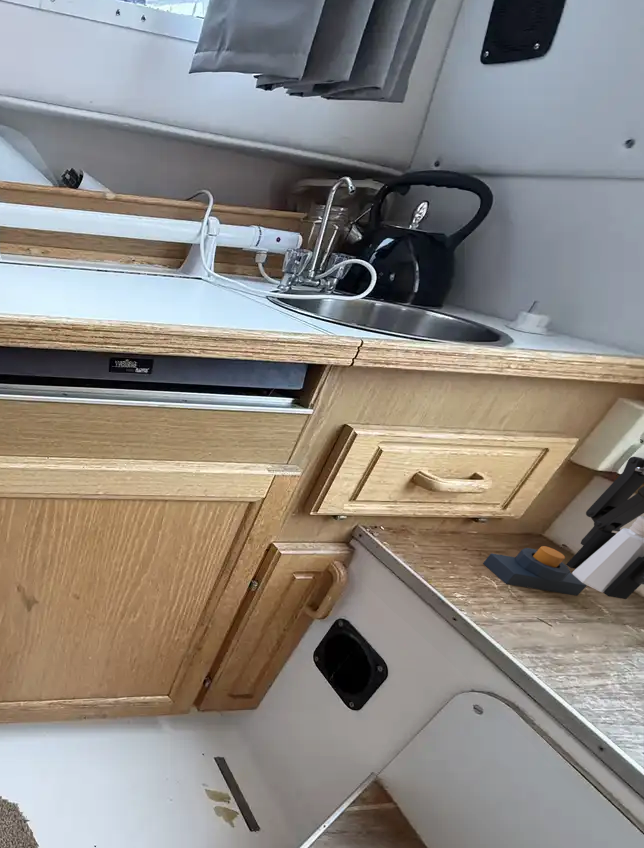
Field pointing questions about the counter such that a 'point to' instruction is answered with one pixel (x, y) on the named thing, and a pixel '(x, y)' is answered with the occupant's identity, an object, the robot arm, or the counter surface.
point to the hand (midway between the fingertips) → (595, 580)
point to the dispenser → (533, 573)
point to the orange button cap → (549, 556)
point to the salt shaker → (613, 557)
